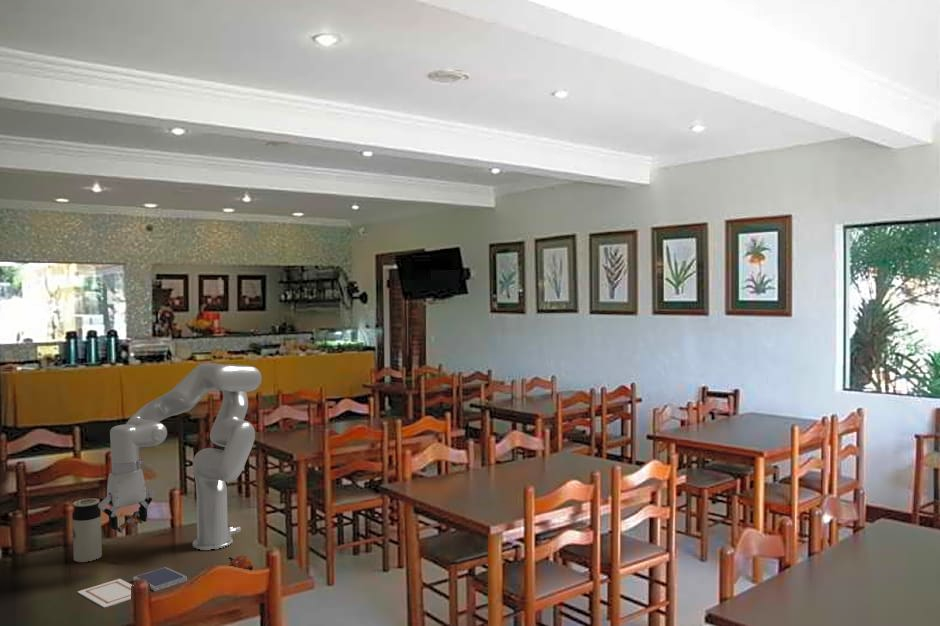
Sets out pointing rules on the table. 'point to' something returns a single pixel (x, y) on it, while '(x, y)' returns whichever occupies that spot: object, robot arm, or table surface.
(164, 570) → the ink pad
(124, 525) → the wooden post with brackets
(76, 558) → the travel mug
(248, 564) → the pomegranate
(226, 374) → the robot arm
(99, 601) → the marked card
